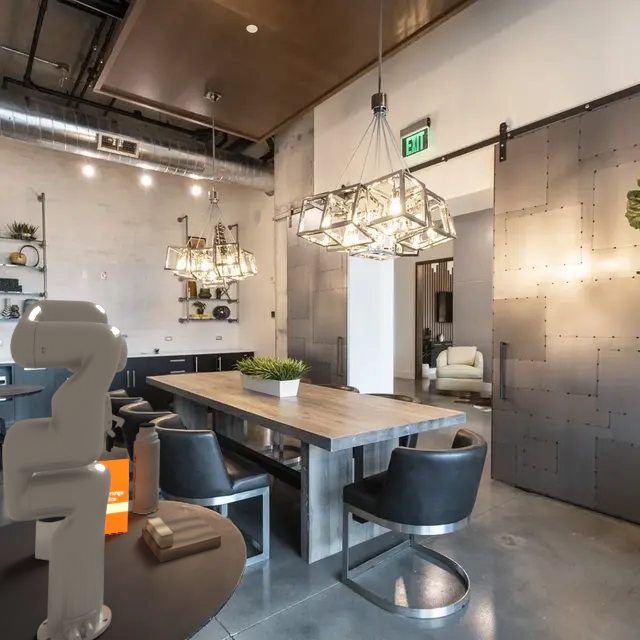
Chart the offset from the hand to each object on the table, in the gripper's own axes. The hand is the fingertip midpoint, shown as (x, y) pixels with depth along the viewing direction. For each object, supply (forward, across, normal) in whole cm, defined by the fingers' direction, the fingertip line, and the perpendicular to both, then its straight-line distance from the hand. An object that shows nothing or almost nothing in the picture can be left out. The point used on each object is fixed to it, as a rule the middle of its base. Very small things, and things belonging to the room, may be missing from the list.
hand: (89, 453), depth 119 cm
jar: (+25, -7, +3) cm, 26 cm away
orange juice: (+25, +8, +9) cm, 28 cm away
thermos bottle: (+25, +20, +18) cm, 37 cm away
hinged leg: (+22, +16, -10) cm, 29 cm away
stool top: (+25, +22, -10) cm, 35 cm away
